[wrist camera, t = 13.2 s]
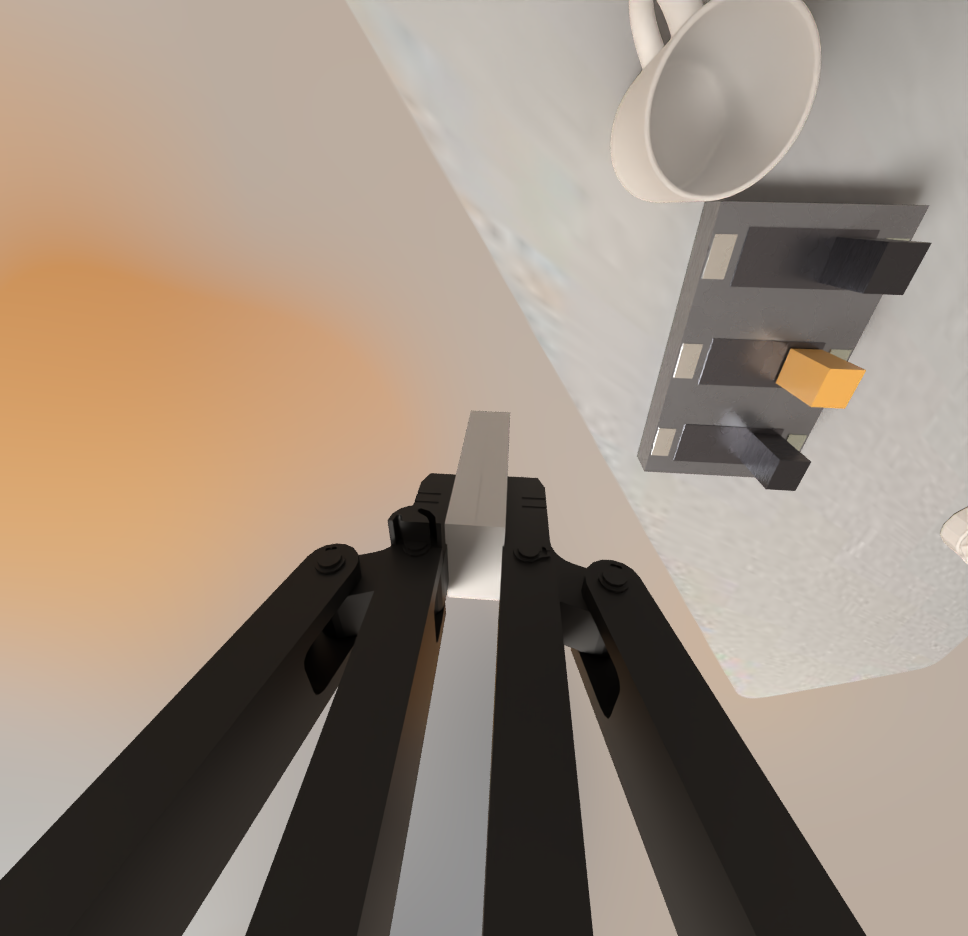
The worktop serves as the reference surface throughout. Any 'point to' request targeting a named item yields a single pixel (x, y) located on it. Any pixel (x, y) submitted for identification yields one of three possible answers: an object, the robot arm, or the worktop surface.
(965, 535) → the white cup
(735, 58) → the mug
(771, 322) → the panel
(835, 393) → the toggle
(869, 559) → the worktop surface
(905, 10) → the worktop surface
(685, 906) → the robot arm
